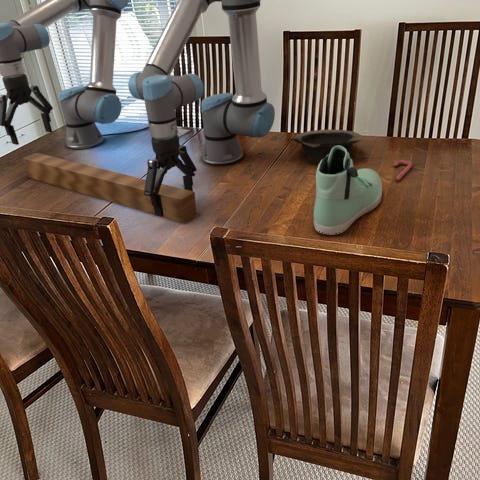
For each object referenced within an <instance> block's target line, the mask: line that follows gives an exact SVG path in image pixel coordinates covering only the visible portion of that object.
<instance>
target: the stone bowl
mask: <svg viewBox="0 0 480 480" xmlns="http://www.w3.org/2000/svg"><path fill="white" fill-rule="evenodd" d="M363 139H365V137H364V136H363V135H362V134H360V133H358V132H355V131H352V130H346V129H319V130H317V129H315V130H308V131H304V132H299V133H297V134H295V135H294V137H293V138H292V141H294V142H296V143H298V144H301V149H302V152H303V153H304V155H305V156H307V157H308V158H309V160H310V162H311V163H313V164H319V163H320V161H321V160H322V159H324V158H325V157H326V156H327V155H329V154H330V152H331V149H332V148H333V147H334V146H342V147H344V148H345V149H346V150H347V152H348V153H349V156H350V157H351V154H352V150H353V144H355V143H359V142H360V141H362V140H363Z"/></svg>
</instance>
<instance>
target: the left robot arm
mask: <svg viewBox="0 0 480 480" xmlns="http://www.w3.org/2000/svg"><path fill="white" fill-rule="evenodd" d="M128 4H129V0H43V1H42V2H40V3H38V4H37V5H35V6H33V7H31V8H29V9H28V10H26V11H24V12H22V13H21V14H20V15H17V16H16V17H14V18H12V19H11V20H9V21H6V22H0V76H1V77H2V78H1V80H2V83H3V86H4V89H5V91H6V94H0V126H1V127H4V130H5V133H6V135H7V136H8V137H9V138H10V140H11V144H12V145H16V146H18V145H20V143H19V139H18V137H17V134H16V130H15V126H14V125H13V124H12V122H13V120H14V116H15V114H16V110H17V109H18V108H19V106H22V105H24V104H28V103H30V104H31V105H32V106H34V107H35V108H36V109H38V110H39V111H40V112H41V113H40V117H41V119H42V123H43V126H44V130H45V132H46V133H53V129H52V126H51V122H52V119H51V116H50V114H51V112H52V111H53V110H54V107H53V105H52V104H51V103H50V101H48V99H47V98H46V97H45V95H43V93H42V92H41V90H40V87H39V85H34V84H32V85H31V86H30V82H29V79H28V76H27V74H26V68H25V66H24V62H23V57H22V54H23V53H27V52H32V51H36V50H42V49H44V48H47V47H48V46H49V45H50V42H51V40H50V39H51V38H50V35H49V31H48V30H47V28H49V27H50V26H52V25H53V24H55V23H57V22H58V21H60V20H61V19H63V18H64V17H66V16H68V15H70V14H74V15H76V14H78V13H79V12H81V11H85V10H89V13H90V14H91V16H92V32H91V33H92V34H91V38H92V39H91V51H90V52H91V53H90V54H91V55H90V70H89V71H90V72H89V73H90V74H89V82H88V83H87V84H86V85H78V86H74V87H69V88H66V89H63V90H61V91H60V92H59V93H58V100H59V105H60V108H61V113H62V116H63V119H64V123H65V126H66V133H65V144H66V148H68V149H70V150H85V149H92V148H94V147H97V146H99V145H102V143H104V137H111V136H120V135H128V134H133V133H138V132H142V131H145V130H148V129H149V126H146V127H143V128H139V129H135V130H130V131H124V132H116V133H115V132H113V133H105V134H102V132H101V130H100V129H99V127H98V125H97V124H102V125H109V124H113V123H114V122H116V120H118V119H119V117H120V115H121V113H122V108H123V107H122V101H121V99H120V97H119V96H118V95H117V89H116V88H115V86H114V68H115V53H116V52H115V51H116V35H117V23H118V20H119V19H120V18H121V17H122V10H123V9H125V8H127V6H128ZM32 94H34V96H35V97H36V98H37V99H38V101H37V100H36V99H35V98H34V97H33V96H32ZM8 102H9V103H8ZM178 121H181V122H185V120H184V119H182V118H176V122H178ZM96 123H97V124H96Z"/></svg>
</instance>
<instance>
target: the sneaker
mask: <svg viewBox="0 0 480 480" xmlns="http://www.w3.org/2000/svg"><path fill="white" fill-rule="evenodd" d="M317 165H318V166H317V168H316V172H315V201H314V207H313V225H314V229H315V231H316V232H318V233H320V234H323V235H326V236H327V235H328V236H336V235H339V234H342V233H344V232H345V231H347V230H348V229H349V228H350V227H351V226H352V225H353V224H354V222H356V221H357V220H358V219H359V218H360V217H362V216H363V215H365V214H367V213H370V212H372V210H374V209H375V208H377V207H378V205H380V203H381V200H382V196H383V184H382V183H383V182H382V179H381V176H380V175H379V173H378V172H377V171H376V170H374V169H372V168H367V167H365V168H358V169H357V168H355V167H354V161H353V159H352V158H351V155H350V156H349V153H348V152H347V150H346V149H345V148H344V147H342V146H334V147H333V148H332V149H331V152H330V154H329V155H327V156H326V157H325V158H324V159H322V160H321V161H320V163H318V164H317ZM343 230H344V231H343ZM319 231H320V232H319ZM322 232H323V233H322ZM339 232H340V233H339ZM326 233H327V234H326ZM328 233H329V234H328ZM335 233H337V234H335Z"/></svg>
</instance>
